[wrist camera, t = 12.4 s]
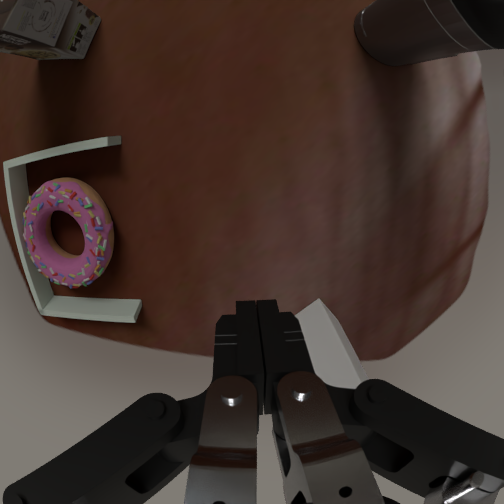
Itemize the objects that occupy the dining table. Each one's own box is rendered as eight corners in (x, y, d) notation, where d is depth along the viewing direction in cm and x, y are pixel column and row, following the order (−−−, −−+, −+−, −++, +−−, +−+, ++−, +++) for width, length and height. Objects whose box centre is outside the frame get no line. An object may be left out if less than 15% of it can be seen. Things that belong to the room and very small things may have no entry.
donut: (48, 272, 33) (32, 289, 28) (31, 180, 27) (9, 189, 22) (127, 275, 34) (116, 295, 30) (115, 169, 28) (97, 176, 24)
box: (121, 135, 26) (107, 136, 23) (142, 305, 36) (135, 322, 32) (20, 157, 25) (3, 162, 21) (51, 300, 34) (40, 314, 31)
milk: (318, 297, 38) (383, 426, 18) (337, 319, 40) (398, 436, 20) (285, 321, 39) (326, 456, 19) (306, 341, 41) (350, 462, 21)
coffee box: (103, 17, 19) (37, -33, 4) (84, 60, 21) (1, 31, 7) (53, 20, 17) (-17, -9, 2) (36, 61, 19) (-44, 47, 5)
